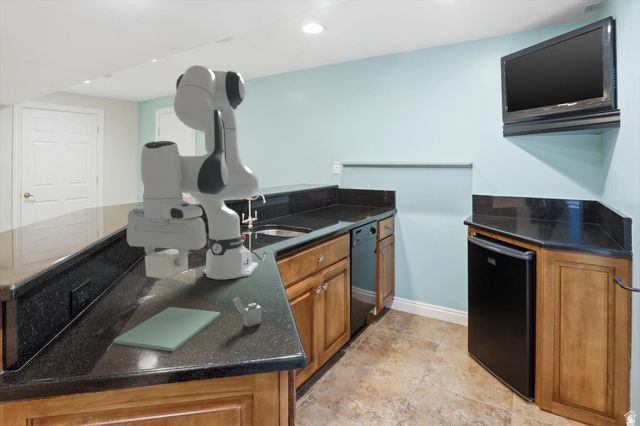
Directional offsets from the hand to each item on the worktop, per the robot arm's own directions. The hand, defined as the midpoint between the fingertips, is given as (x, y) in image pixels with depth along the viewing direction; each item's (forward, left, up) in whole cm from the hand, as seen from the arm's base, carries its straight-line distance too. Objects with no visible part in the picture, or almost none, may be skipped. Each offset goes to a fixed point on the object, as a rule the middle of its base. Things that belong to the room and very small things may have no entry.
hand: (167, 265), depth 89 cm
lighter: (-6, +18, -16) cm, 25 cm away
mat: (0, 0, -16) cm, 16 cm away
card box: (0, 0, -2) cm, 2 cm away
